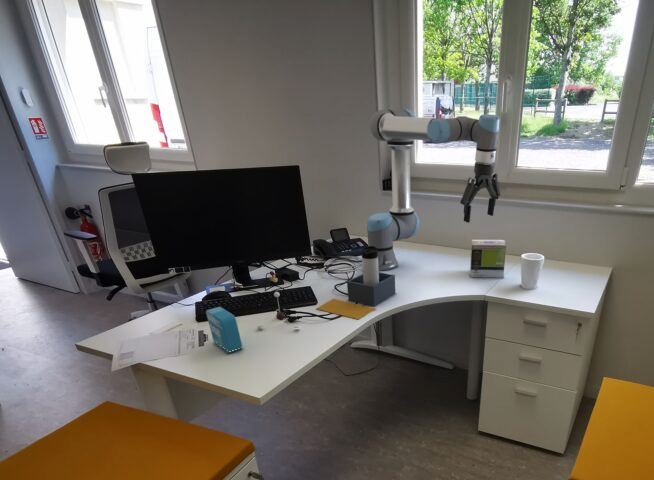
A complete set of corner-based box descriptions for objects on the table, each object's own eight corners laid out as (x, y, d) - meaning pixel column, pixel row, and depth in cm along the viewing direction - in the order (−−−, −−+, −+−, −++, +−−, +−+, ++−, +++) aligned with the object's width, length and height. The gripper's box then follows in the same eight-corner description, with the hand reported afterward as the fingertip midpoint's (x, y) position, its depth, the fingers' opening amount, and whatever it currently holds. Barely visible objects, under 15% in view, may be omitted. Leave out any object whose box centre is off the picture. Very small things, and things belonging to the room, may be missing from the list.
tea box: (502, 271, 212) (505, 239, 204) (503, 278, 204) (506, 245, 196) (469, 270, 213) (471, 238, 205) (469, 277, 205) (471, 244, 197)
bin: (348, 300, 182) (346, 281, 178) (370, 288, 193) (369, 270, 189) (374, 306, 177) (373, 287, 172) (395, 293, 188) (394, 275, 184)
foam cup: (541, 284, 197) (546, 254, 190) (537, 291, 190) (541, 261, 183) (520, 281, 200) (524, 252, 193) (515, 288, 193) (518, 258, 186)
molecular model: (290, 315, 170) (284, 283, 163) (300, 331, 158) (295, 297, 152) (253, 322, 164) (246, 289, 158) (261, 338, 153) (254, 304, 146)
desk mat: (315, 309, 174) (315, 308, 174) (333, 299, 183) (333, 298, 182) (358, 319, 166) (358, 318, 166) (375, 309, 174) (374, 308, 174)
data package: (213, 342, 151) (204, 309, 144) (226, 338, 154) (218, 305, 147) (230, 355, 144) (221, 320, 137) (243, 350, 146) (235, 315, 140)
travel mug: (382, 295, 187) (380, 246, 176) (376, 301, 181) (373, 251, 171) (368, 293, 188) (365, 245, 178) (361, 299, 183) (358, 249, 172)
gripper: (468, 169, 164) (462, 227, 177) (514, 159, 176) (506, 214, 189) (453, 164, 168) (449, 221, 182) (500, 155, 180) (493, 209, 194)
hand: (478, 218), depth 186 cm, fingers open, 13 cm apart
